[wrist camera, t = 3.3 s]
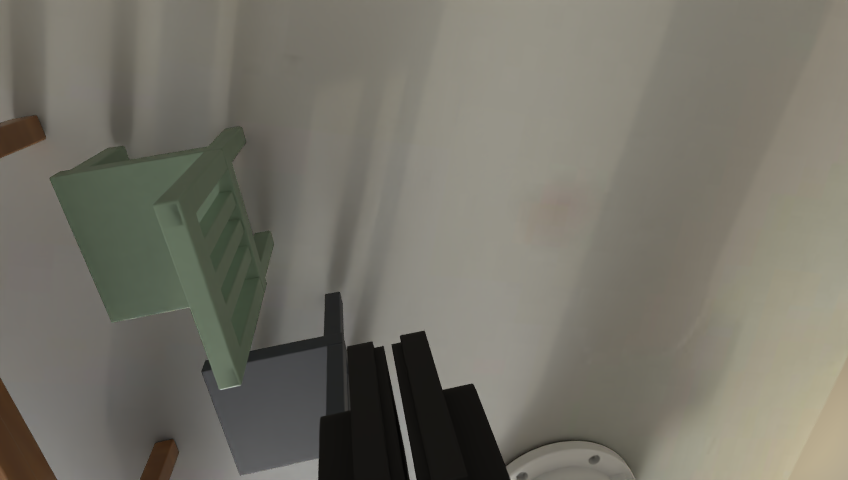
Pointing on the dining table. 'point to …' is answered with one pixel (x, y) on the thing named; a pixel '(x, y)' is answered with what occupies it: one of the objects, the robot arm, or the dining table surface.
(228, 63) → the dining table surface
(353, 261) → the dining table surface
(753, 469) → the dining table surface
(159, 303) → the sage chair
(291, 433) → the charcoal chair
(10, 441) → the oak table
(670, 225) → the dining table surface
